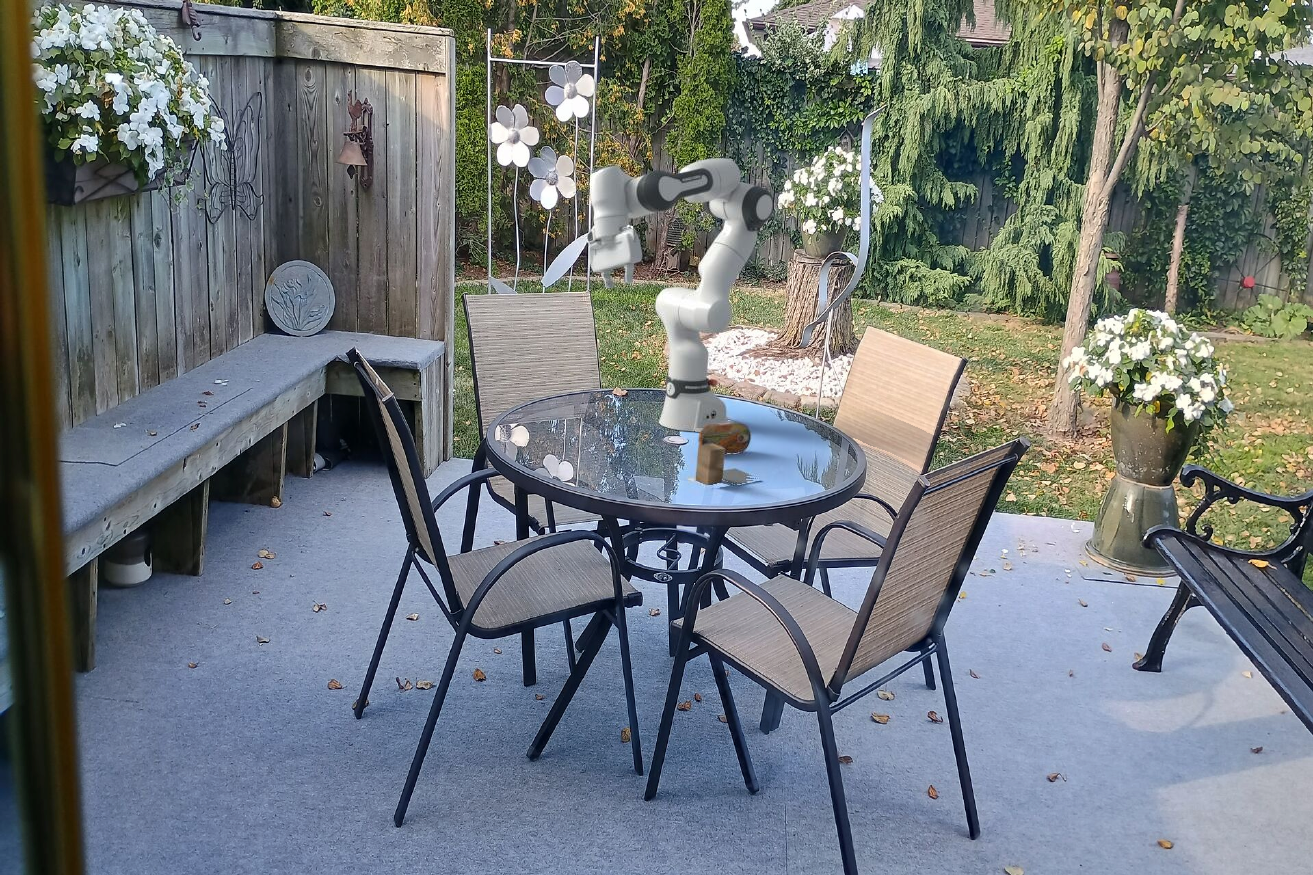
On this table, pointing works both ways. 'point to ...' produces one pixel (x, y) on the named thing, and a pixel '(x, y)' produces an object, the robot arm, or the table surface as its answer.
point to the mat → (736, 476)
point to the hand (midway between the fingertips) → (619, 285)
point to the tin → (726, 436)
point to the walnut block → (710, 464)
